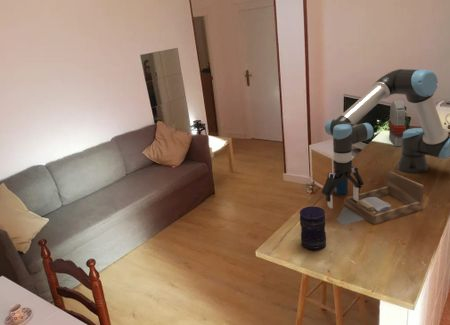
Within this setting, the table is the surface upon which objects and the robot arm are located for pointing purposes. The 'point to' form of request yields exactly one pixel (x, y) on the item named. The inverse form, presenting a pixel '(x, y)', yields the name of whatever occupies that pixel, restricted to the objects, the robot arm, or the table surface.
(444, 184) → the table surface
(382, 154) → the table surface
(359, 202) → the offcut short
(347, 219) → the mat
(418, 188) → the wooden tray
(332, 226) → the table surface
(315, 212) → the storage jar
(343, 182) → the soda can
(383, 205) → the stone block
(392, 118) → the grey red bottle
